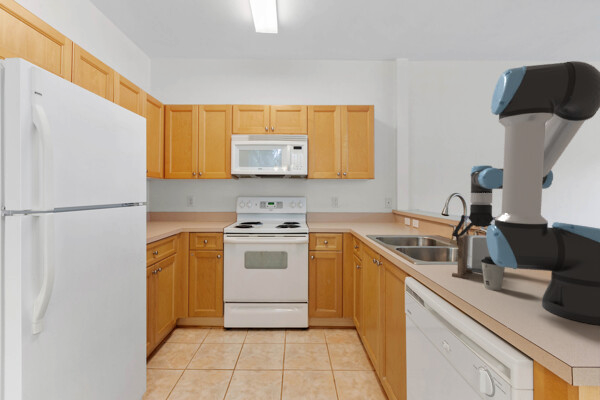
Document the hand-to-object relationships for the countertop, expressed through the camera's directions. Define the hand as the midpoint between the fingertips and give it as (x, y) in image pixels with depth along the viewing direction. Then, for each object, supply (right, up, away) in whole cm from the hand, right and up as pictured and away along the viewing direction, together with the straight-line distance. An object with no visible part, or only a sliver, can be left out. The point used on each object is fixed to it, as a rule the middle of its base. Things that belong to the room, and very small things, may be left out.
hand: (479, 255), depth 118 cm
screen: (-11, -6, -6) cm, 14 cm away
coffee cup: (-10, -7, -23) cm, 26 cm away
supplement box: (0, -5, 0) cm, 5 cm away
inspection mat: (0, -6, 0) cm, 6 cm away
